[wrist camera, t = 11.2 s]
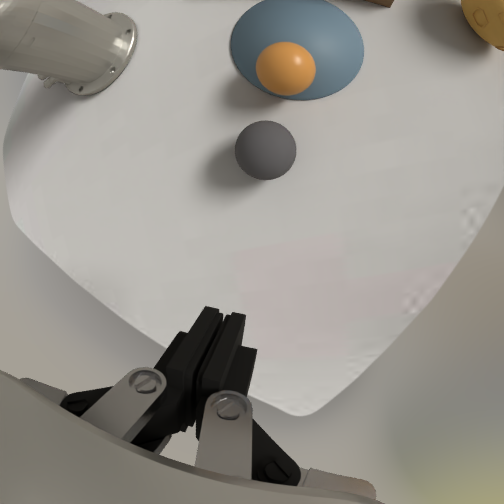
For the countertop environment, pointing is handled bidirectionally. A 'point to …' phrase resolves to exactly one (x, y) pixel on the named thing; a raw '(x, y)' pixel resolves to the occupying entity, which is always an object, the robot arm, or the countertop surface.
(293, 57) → the object ball
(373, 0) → the bar
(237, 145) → the dark gray ball
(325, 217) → the countertop surface
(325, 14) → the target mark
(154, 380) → the robot arm
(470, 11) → the stress ball
